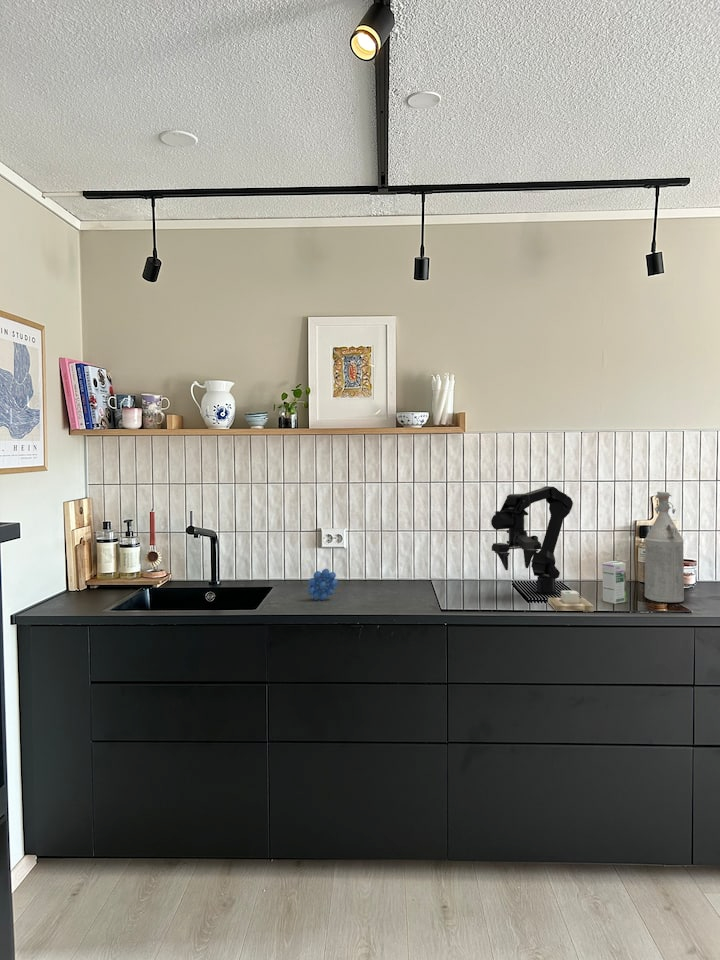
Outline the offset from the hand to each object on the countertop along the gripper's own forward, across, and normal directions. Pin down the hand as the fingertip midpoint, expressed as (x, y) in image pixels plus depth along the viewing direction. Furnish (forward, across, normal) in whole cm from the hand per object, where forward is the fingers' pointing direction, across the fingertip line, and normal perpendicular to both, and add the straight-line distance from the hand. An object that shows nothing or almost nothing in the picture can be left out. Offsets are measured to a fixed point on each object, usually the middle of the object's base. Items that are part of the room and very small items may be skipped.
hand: (516, 569), depth 238 cm
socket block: (+11, +8, -20) cm, 24 cm away
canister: (+11, +47, -25) cm, 54 cm away
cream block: (+11, +8, -20) cm, 24 cm away
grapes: (+11, -67, +30) cm, 74 cm away
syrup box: (+11, +28, -20) cm, 36 cm away
